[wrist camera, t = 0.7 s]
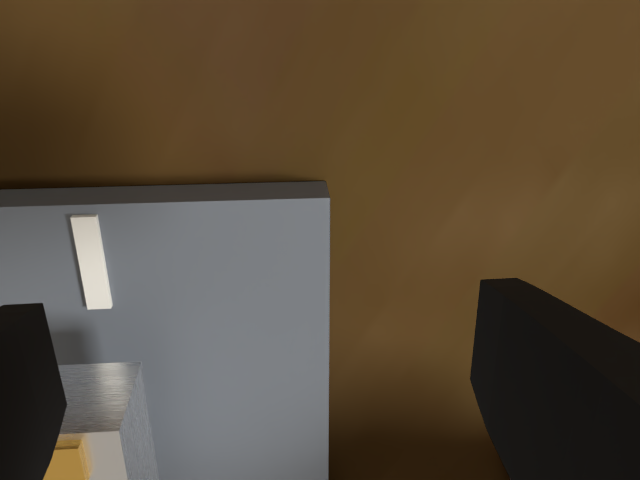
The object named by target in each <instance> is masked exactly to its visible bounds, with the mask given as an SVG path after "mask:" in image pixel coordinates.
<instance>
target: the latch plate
mask: <svg viewBox="0 0 640 480" xmlns="http://www.w3.org/2000/svg"><path fill="white" fill-rule="evenodd" d="M329 285H330V196H329V192H328V188H327V184H326V181H309V182H271V183H232V184H194V185H156V186H118V187H80V188H42V189H4V190H0V306H3V305H10V304H29V303H43V306H44V310H45V314H46V318H47V322H48V326H49V331H50V335H51V339H52V343H53V347H54V351H55V355H56V360H57V364H58V365H76V364H97V363H119V362H141V363H142V370H143V376H144V383H145V390H146V396H147V403H148V410H149V416H150V423H151V430H152V436H153V443H154V450H155V456H156V463H157V470H158V476H159V480H328V455H329Z"/></svg>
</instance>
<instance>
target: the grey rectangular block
mask: <svg viewBox="0 0 640 480" xmlns="http://www.w3.org/2000/svg"><path fill="white" fill-rule="evenodd" d="M58 368H59V372H60V376H61V380H62V385H63V389H64V393H65V397H66V401H67V407H66V411H65V414H64V418H63V422H62V426H61V429H60V433H59V436H58V440H57V443H56V446H55V450H54V453H53V456H52V459H51V462H50V464H49V467H48V469H47V471H46V474H45V476H44V478H43V480H159V476H158V470H157V463H156V456H155V450H154V443H153V436H152V430H151V423H150V416H149V410H148V403H147V396H146V390H145V383H144V376H143V370H142V363H141V362H119V363H97V364H76V365H58Z"/></svg>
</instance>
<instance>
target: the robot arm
mask: <svg viewBox="0 0 640 480" xmlns="http://www.w3.org/2000/svg"><path fill="white" fill-rule="evenodd" d="M470 380H471V383H472V387H473V390H474V393H475V396H476V399H477V402H478V406H479V409H480V411H481V414H482V417H483V420H484V423H485V426H486V429H487V431H488V433H489V436H490V438H491V440H492V442H493V444H494V446H495V448H496V450H497V452H498V454H499V456H500V458H501V461H502V463H503V465H504V467H505V469H506V471H507V473H508V475H509V477H510V480H640V343H639V342H637V341H635V340H633V339H631V338H629V337H627V336H626V335H624V334H622V333H620V332H618V331H616V330H614V329H612V328H610V327H609V326H607V325H605V324H603V323H601V322H599V321H598V320H596V319H594V318H592V317H590V316H588V315H587V314H585V313H583V312H581V311H579V310H578V309H576V308H574V307H572V306H570V305H569V304H567V303H565V302H563V301H561V300H559V299H558V298H556V297H554V296H552V295H550V294H548V293H547V292H545V291H543V290H541V289H539V288H537V287H535V286H533V285H531V284H529V283H527V282H525V281H522V280H520V279H518V278H505V279H486V280H481V281H480V290H479V300H478V309H477V319H476V328H475V338H474V347H473V357H472V366H471V376H470ZM66 407H67V401H66V397H65V393H64V389H63V385H62V380H61V376H60V372H59V368H58V364H57V360H56V355H55V351H54V347H53V343H52V339H51V335H50V331H49V326H48V322H47V318H46V314H45V310H44V306H43V303H29V304H10V305H3V306H0V480H43V478H44V476H45V474H46V471H47V469H48V467H49V464H50V462H51V459H52V456H53V453H54V450H55V446H56V443H57V440H58V436H59V433H60V429H61V426H62V422H63V418H64V414H65V411H66Z"/></svg>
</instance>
